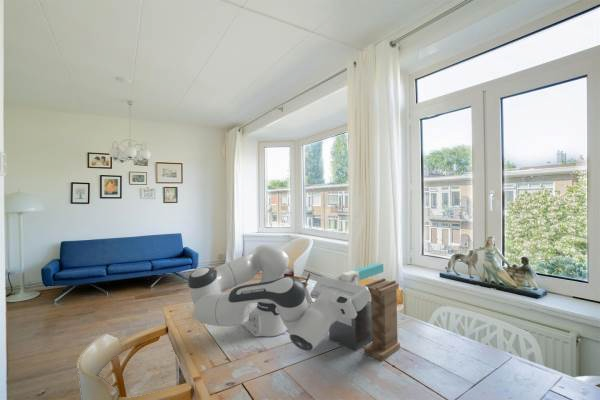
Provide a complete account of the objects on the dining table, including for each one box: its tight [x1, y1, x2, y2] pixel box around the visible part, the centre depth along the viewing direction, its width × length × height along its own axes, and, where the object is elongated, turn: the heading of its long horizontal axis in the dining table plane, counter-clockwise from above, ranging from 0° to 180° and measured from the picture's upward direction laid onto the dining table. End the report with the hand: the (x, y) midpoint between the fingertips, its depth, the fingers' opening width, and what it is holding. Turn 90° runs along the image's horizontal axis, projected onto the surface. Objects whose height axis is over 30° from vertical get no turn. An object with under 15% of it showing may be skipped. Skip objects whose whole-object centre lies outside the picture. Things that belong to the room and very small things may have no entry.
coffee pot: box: [301, 273, 313, 304], centre depth 165 cm, size 21×12×15 cm, turn 160°
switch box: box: [328, 300, 372, 352], centre depth 120 cm, size 14×13×16 cm
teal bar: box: [340, 262, 384, 283], centre depth 103 cm, size 3×22×3 cm, turn 133°
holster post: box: [363, 277, 401, 362], centre depth 111 cm, size 8×13×27 cm, turn 132°
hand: (352, 275), depth 98 cm, fingers closed on teal bar, 3 cm apart
